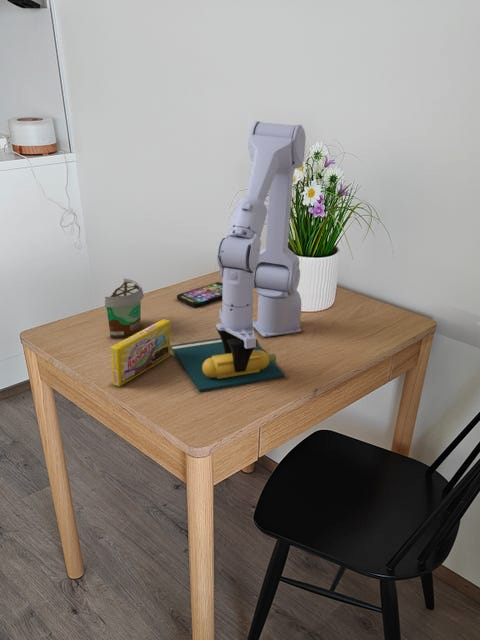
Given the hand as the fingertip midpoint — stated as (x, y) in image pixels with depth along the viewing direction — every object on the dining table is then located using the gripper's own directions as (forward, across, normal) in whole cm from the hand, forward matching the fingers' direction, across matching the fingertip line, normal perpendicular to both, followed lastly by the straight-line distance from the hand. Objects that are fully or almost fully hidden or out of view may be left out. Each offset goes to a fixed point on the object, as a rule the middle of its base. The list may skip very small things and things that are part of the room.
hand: (235, 365), depth 126 cm
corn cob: (+2, 0, 0) cm, 2 cm away
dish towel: (+2, -6, 0) cm, 6 cm away
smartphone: (+2, -41, +8) cm, 42 cm away
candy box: (+2, -8, -17) cm, 19 cm away
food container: (+2, -27, -15) cm, 31 cm away
